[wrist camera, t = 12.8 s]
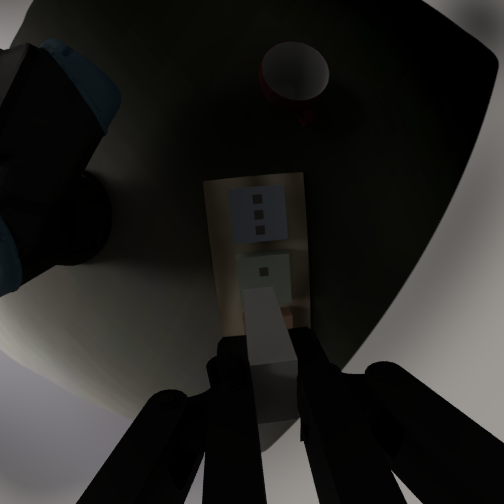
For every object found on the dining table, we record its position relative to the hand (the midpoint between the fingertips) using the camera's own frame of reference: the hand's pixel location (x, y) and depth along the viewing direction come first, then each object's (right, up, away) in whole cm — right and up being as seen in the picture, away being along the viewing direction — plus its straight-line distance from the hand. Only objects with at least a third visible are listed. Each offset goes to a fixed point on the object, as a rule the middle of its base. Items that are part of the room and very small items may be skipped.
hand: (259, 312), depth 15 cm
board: (+1, 0, +29) cm, 29 cm away
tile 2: (+1, 0, +28) cm, 28 cm away
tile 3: (0, +8, +25) cm, 27 cm away
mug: (+5, +25, +24) cm, 35 cm away
